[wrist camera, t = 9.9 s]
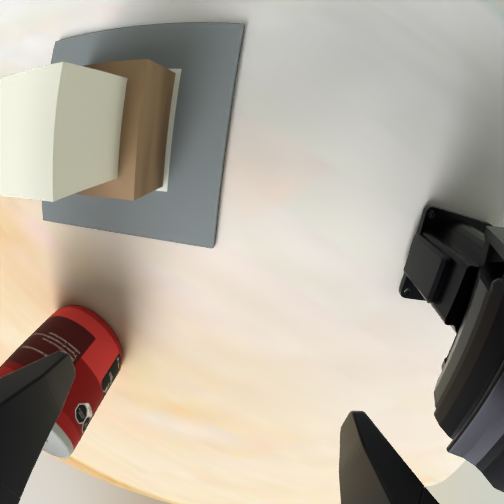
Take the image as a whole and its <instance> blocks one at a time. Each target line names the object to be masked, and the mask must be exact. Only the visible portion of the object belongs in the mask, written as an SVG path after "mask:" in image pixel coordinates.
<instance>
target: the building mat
mask: <svg viewBox="0 0 504 504" xmlns="http://www.w3.org/2000/svg"><path fill="white" fill-rule="evenodd" d="M243 31H244V24H239V23H215V22H190V23H166V24H152V25H142V26H133V27H125V28H118V29H112V30H106V31H100V32H95V33H89V34H85V35H80V36H76V37H71V38H67V39H63V40H59V41H56V42H55V46H54V50H53V55H52V60H51V64H55V63H60V62H66V63H71V64H75V65H80V66H84V65H90V64H98V63H106V62H115V61H125V60H139V59H149V60H151V61H153V62H155V63H157V64H159V65H161V66H163V67H165V68H167V69H169V70H171V71H172V72H174V73H176V75H175V81H174V88H173V94H172V102H171V109H170V117H169V125H168V134H167V143H166V153H165V165H164V177H163V187H161V188H159V189H157V190H154V191H152V192H150V193H148V194H146V195H144V196H142V197H140V198H138V199H136V200H134V201H132V200H124V199H115V198H107V197H98V196H89V195H79V194H72V195H69V196H67V197H64V198H62V199H59V200H57V201H54V202H50V201H42V210H43V220H45V221H51V222H57V223H63V224H69V225H75V226H81V227H87V228H93V229H99V230H104V231H110V232H116V233H122V234H128V235H134V236H140V237H146V238H152V239H158V240H164V241H170V242H176V243H183V244H189V245H195V246H201V247H207V248H214V244H215V234H216V225H217V215H218V206H219V198H220V189H221V181H222V172H223V164H224V156H225V149H226V141H227V134H228V126H229V119H230V112H231V105H232V99H233V92H234V85H235V79H236V73H237V66H238V60H239V54H240V48H241V42H242V36H243Z"/></svg>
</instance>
